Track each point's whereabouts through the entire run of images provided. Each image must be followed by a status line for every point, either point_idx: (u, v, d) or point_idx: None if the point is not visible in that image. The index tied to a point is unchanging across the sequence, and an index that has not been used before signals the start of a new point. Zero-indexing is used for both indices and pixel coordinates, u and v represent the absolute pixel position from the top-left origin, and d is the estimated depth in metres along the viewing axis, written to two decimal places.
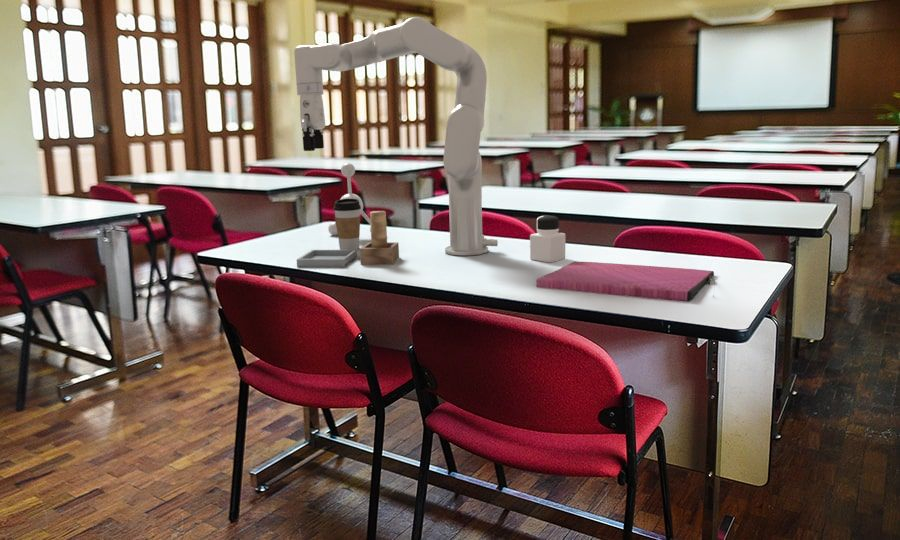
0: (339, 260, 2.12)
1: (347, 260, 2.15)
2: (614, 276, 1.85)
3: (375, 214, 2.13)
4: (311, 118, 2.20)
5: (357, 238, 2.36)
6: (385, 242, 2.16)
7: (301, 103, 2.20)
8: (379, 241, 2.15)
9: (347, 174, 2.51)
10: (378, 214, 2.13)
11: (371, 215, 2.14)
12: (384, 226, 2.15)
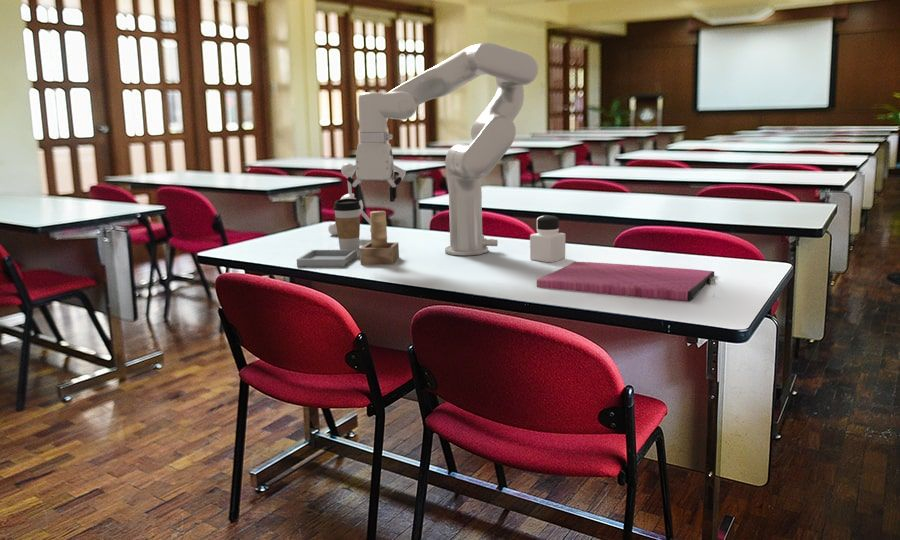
0: (339, 260, 2.12)
1: (347, 260, 2.15)
2: (614, 276, 1.85)
3: (375, 214, 2.13)
4: None
5: (357, 238, 2.36)
6: (385, 242, 2.16)
7: (389, 152, 2.10)
8: (379, 241, 2.15)
9: None
10: (378, 214, 2.13)
11: (371, 215, 2.14)
12: (384, 226, 2.15)
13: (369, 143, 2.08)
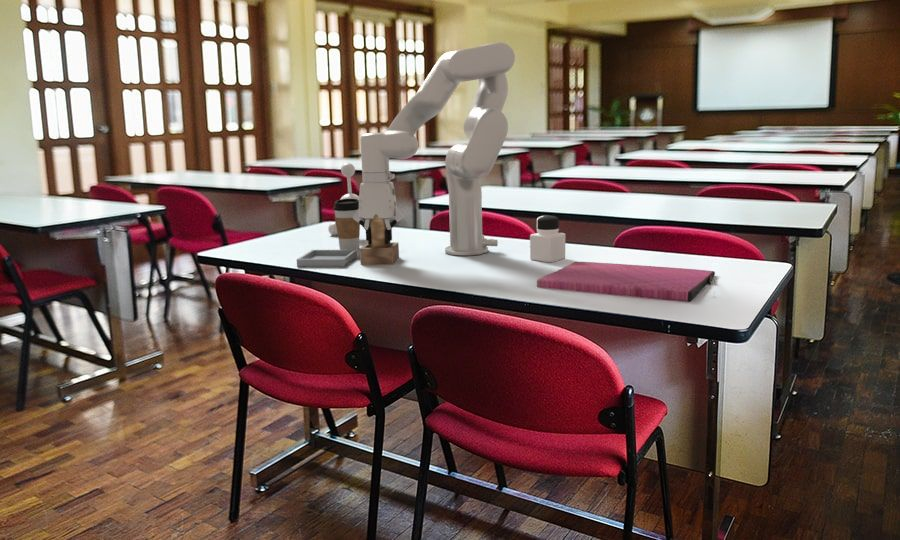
0: (339, 260, 2.12)
1: (347, 260, 2.15)
2: (615, 276, 1.84)
3: None
4: (396, 206, 2.16)
5: (357, 238, 2.36)
6: (385, 242, 2.16)
7: (391, 192, 2.12)
8: (379, 241, 2.15)
9: (347, 174, 2.51)
10: None
11: None
12: (384, 226, 2.15)
13: (371, 183, 2.10)
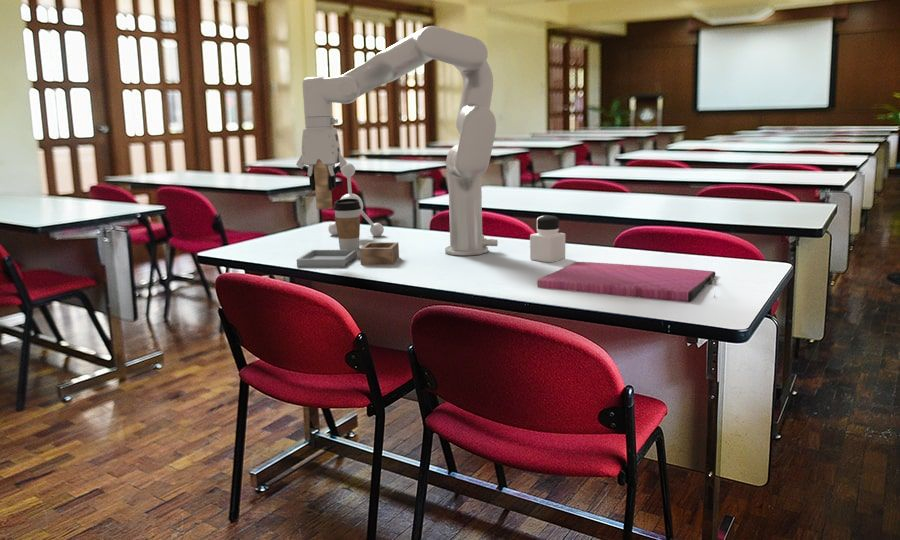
0: (339, 260, 2.12)
1: (347, 260, 2.15)
2: (615, 276, 1.84)
3: (318, 159, 2.11)
4: (340, 152, 2.14)
5: (357, 238, 2.36)
6: None
7: (334, 137, 2.10)
8: (322, 187, 2.13)
9: (347, 174, 2.51)
10: None
11: None
12: (327, 172, 2.13)
13: (313, 128, 2.08)
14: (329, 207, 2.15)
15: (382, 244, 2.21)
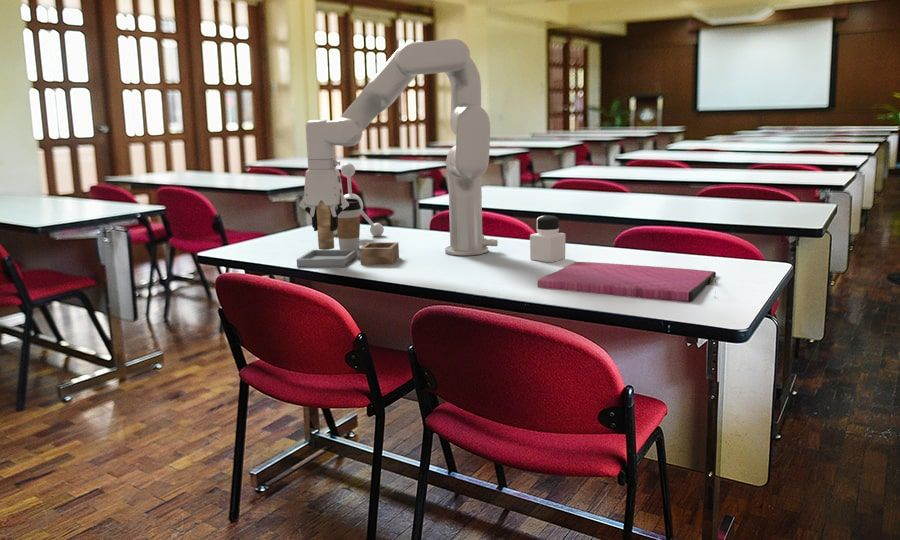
0: (339, 260, 2.12)
1: (347, 260, 2.15)
2: (615, 276, 1.84)
3: (320, 201, 2.14)
4: (342, 193, 2.16)
5: (357, 238, 2.36)
6: None
7: (336, 179, 2.12)
8: (324, 228, 2.15)
9: (347, 174, 2.51)
10: None
11: None
12: (330, 213, 2.15)
13: (316, 170, 2.10)
14: (331, 247, 2.17)
15: (382, 244, 2.21)
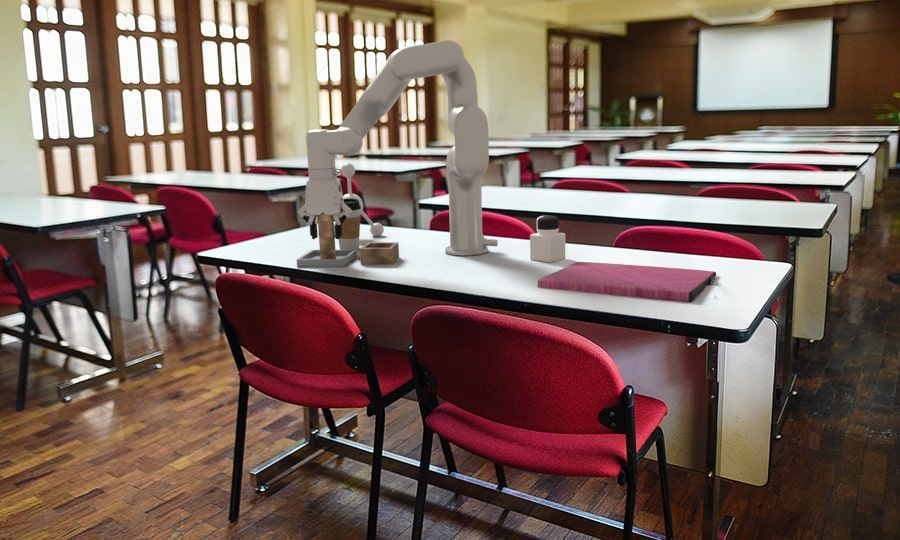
0: (339, 260, 2.12)
1: (347, 260, 2.15)
2: (616, 277, 1.84)
3: (322, 213, 2.15)
4: None
5: (357, 238, 2.36)
6: (333, 240, 2.17)
7: (337, 188, 2.13)
8: (326, 240, 2.16)
9: (347, 174, 2.51)
10: None
11: None
12: (331, 225, 2.16)
13: (317, 180, 2.11)
14: None
15: (382, 244, 2.21)
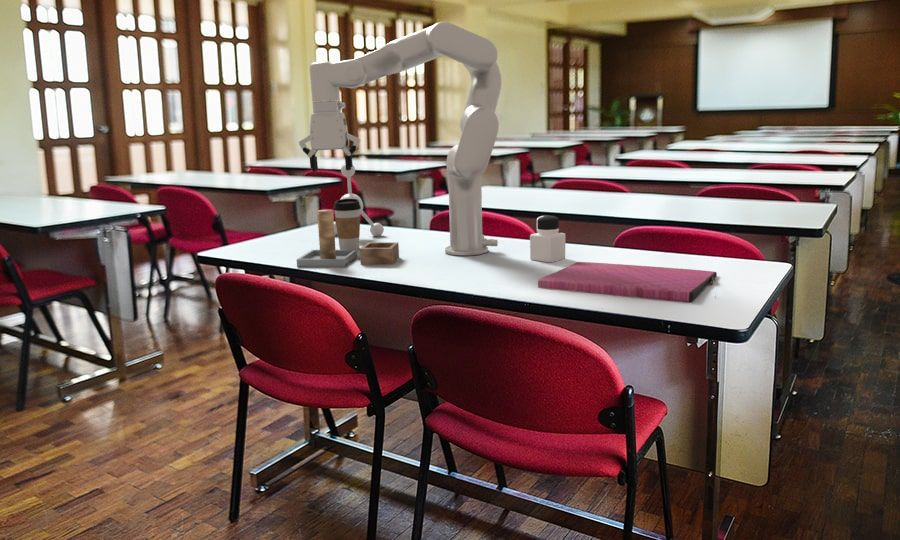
0: (339, 260, 2.12)
1: (347, 260, 2.15)
2: (616, 277, 1.84)
3: (322, 213, 2.14)
4: None
5: (357, 238, 2.36)
6: (333, 240, 2.17)
7: (342, 121, 2.11)
8: (326, 240, 2.16)
9: (347, 174, 2.51)
10: (325, 213, 2.14)
11: (318, 214, 2.15)
12: (331, 225, 2.16)
13: (321, 112, 2.09)
14: None
15: (382, 244, 2.21)
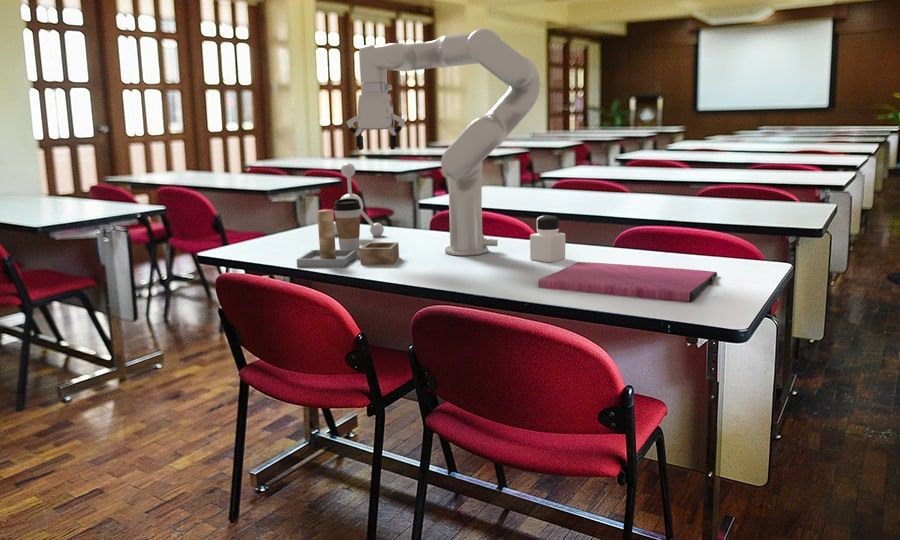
0: (339, 260, 2.12)
1: (347, 260, 2.15)
2: (616, 277, 1.84)
3: (322, 213, 2.14)
4: None
5: (357, 238, 2.36)
6: (333, 240, 2.17)
7: (389, 102, 2.22)
8: (326, 240, 2.16)
9: (347, 174, 2.51)
10: (325, 213, 2.14)
11: (318, 214, 2.15)
12: (331, 225, 2.16)
13: (369, 93, 2.20)
14: None
15: (382, 244, 2.21)
